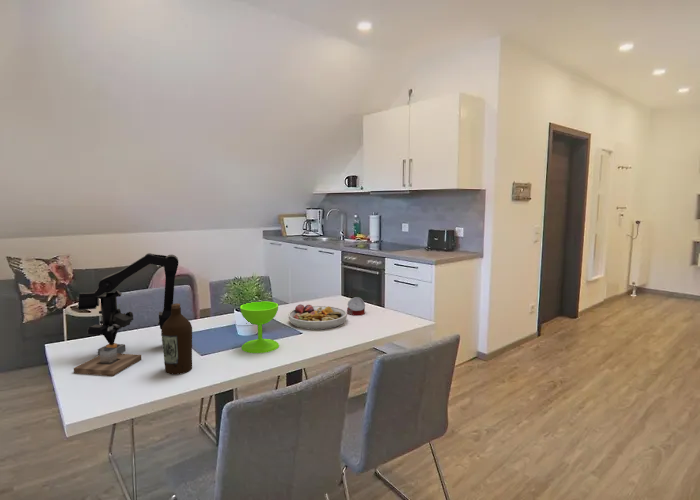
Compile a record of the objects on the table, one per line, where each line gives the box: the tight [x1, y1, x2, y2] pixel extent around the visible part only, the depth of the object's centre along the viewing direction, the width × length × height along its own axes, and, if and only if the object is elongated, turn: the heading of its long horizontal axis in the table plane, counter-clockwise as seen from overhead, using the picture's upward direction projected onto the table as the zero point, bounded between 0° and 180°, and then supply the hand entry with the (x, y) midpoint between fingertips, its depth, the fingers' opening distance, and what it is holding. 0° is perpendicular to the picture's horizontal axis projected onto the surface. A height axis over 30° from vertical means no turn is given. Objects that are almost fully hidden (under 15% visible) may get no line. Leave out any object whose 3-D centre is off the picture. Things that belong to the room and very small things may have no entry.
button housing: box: [97, 343, 127, 356], centre depth 177 cm, size 7×7×3 cm
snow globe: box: [346, 296, 366, 317], centre depth 239 cm, size 11×10×10 cm
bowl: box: [288, 303, 348, 330], centre depth 222 cm, size 30×30×8 cm
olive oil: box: [160, 303, 193, 376], centre depth 159 cm, size 11×11×25 cm
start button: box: [105, 342, 118, 348], centre depth 176 cm, size 4×4×3 cm
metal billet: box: [100, 347, 117, 365], centre depth 163 cm, size 4×4×6 cm
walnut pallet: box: [73, 353, 142, 377], centre depth 164 cm, size 16×16×2 cm
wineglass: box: [239, 300, 280, 354], centre depth 184 cm, size 16×16×18 cm
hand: (111, 344), depth 176 cm, fingers closed, pressing on start button
